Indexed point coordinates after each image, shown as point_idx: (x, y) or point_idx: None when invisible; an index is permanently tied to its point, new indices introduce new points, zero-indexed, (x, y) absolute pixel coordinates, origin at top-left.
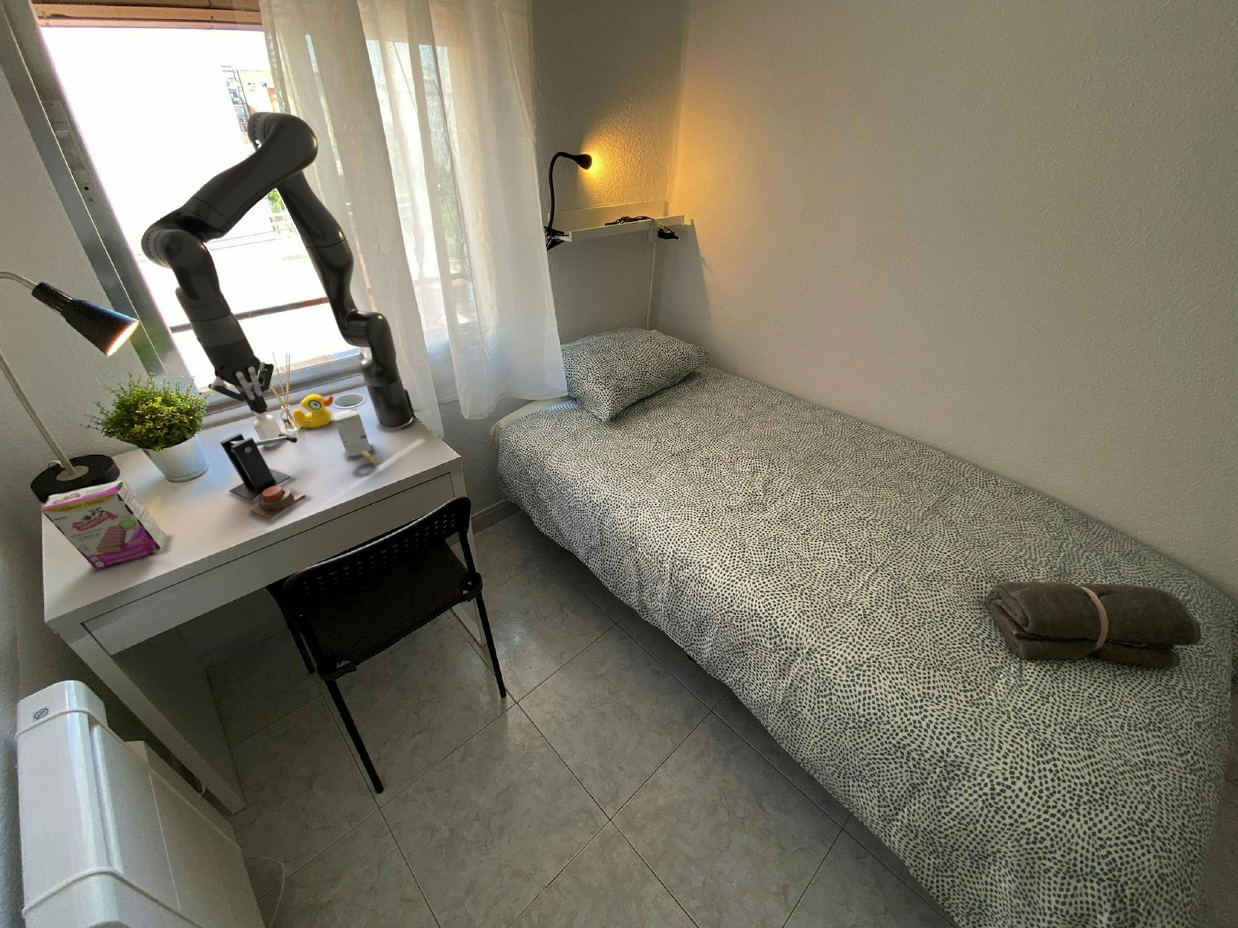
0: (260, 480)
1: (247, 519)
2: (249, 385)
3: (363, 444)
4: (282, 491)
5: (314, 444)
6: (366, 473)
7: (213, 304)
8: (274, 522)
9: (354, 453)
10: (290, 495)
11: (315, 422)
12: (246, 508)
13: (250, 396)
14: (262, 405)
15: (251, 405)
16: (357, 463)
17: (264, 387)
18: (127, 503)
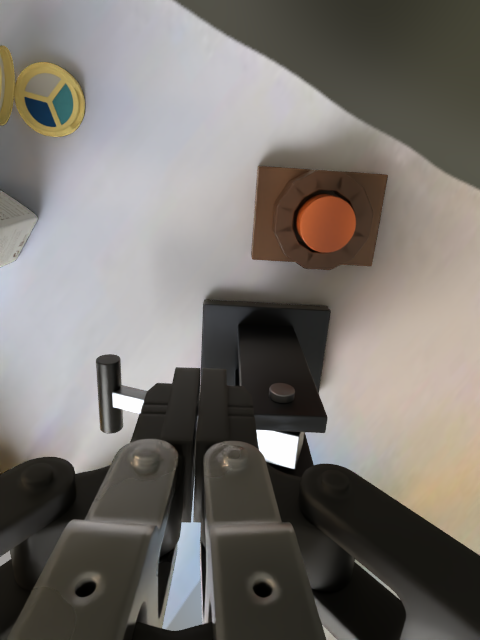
0: (277, 336)
1: (386, 255)
2: (155, 607)
3: None
4: (303, 207)
5: (43, 394)
6: (63, 69)
7: None
8: (376, 165)
9: (7, 203)
10: (298, 178)
11: None
12: (349, 302)
13: (245, 470)
14: (184, 393)
15: (255, 430)
16: (37, 170)
17: (49, 487)
18: None
